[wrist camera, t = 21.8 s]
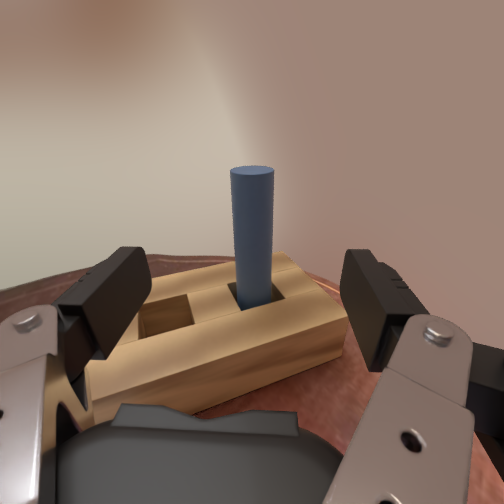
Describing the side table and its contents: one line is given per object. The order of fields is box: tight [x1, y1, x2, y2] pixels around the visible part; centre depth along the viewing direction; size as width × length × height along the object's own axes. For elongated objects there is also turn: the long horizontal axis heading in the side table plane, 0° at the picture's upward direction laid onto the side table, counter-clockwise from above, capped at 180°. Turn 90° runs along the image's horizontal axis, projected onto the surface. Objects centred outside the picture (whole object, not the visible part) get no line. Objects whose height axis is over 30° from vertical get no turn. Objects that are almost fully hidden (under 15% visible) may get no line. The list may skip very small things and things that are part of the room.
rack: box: [86, 251, 349, 425], centre depth 24 cm, size 12×20×5 cm, turn 112°
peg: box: [230, 166, 274, 311], centre depth 22 cm, size 3×3×16 cm
